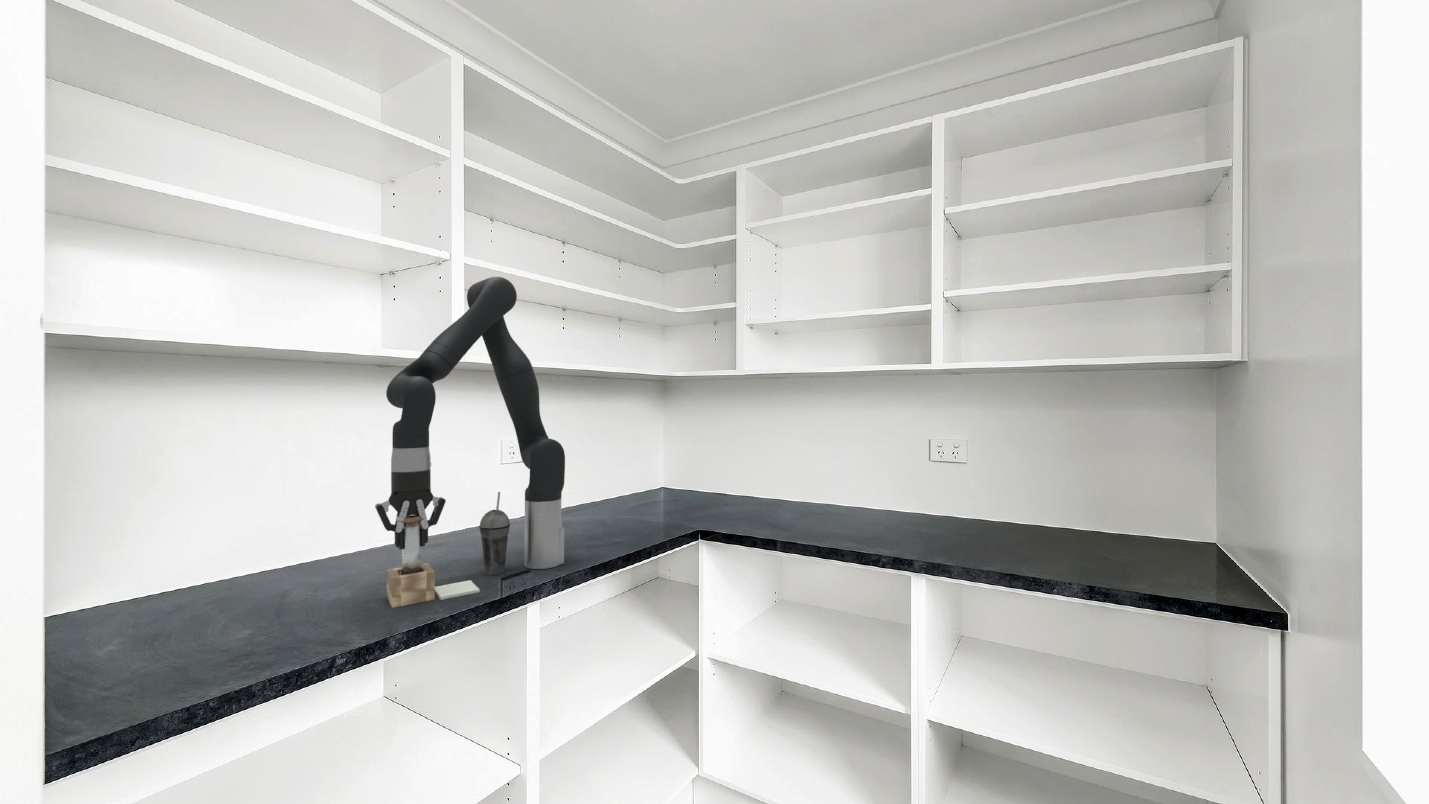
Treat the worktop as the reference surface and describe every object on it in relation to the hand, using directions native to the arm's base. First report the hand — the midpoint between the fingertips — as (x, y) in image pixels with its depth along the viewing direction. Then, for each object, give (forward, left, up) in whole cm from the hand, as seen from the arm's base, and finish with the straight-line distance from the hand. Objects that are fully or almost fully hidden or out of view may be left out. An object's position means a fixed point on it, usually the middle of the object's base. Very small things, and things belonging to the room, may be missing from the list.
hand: (411, 546), depth 120 cm
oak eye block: (0, 0, -11) cm, 11 cm away
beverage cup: (-20, -8, -11) cm, 24 cm away
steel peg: (0, 0, -8) cm, 8 cm away
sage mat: (-9, +1, -11) cm, 14 cm away
